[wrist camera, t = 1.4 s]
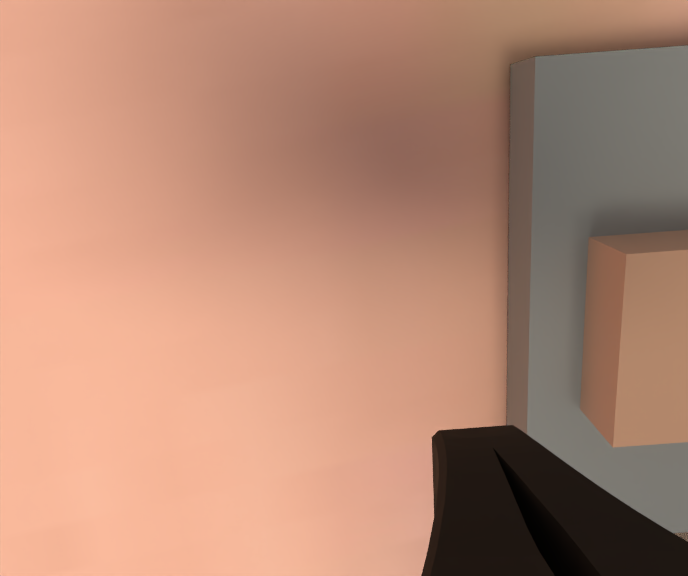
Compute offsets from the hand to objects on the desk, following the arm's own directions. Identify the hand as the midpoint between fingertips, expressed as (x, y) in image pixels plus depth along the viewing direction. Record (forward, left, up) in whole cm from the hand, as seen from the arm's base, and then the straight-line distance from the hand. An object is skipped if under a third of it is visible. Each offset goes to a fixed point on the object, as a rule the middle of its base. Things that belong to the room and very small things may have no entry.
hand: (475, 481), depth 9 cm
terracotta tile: (0, -7, -7) cm, 10 cm away
